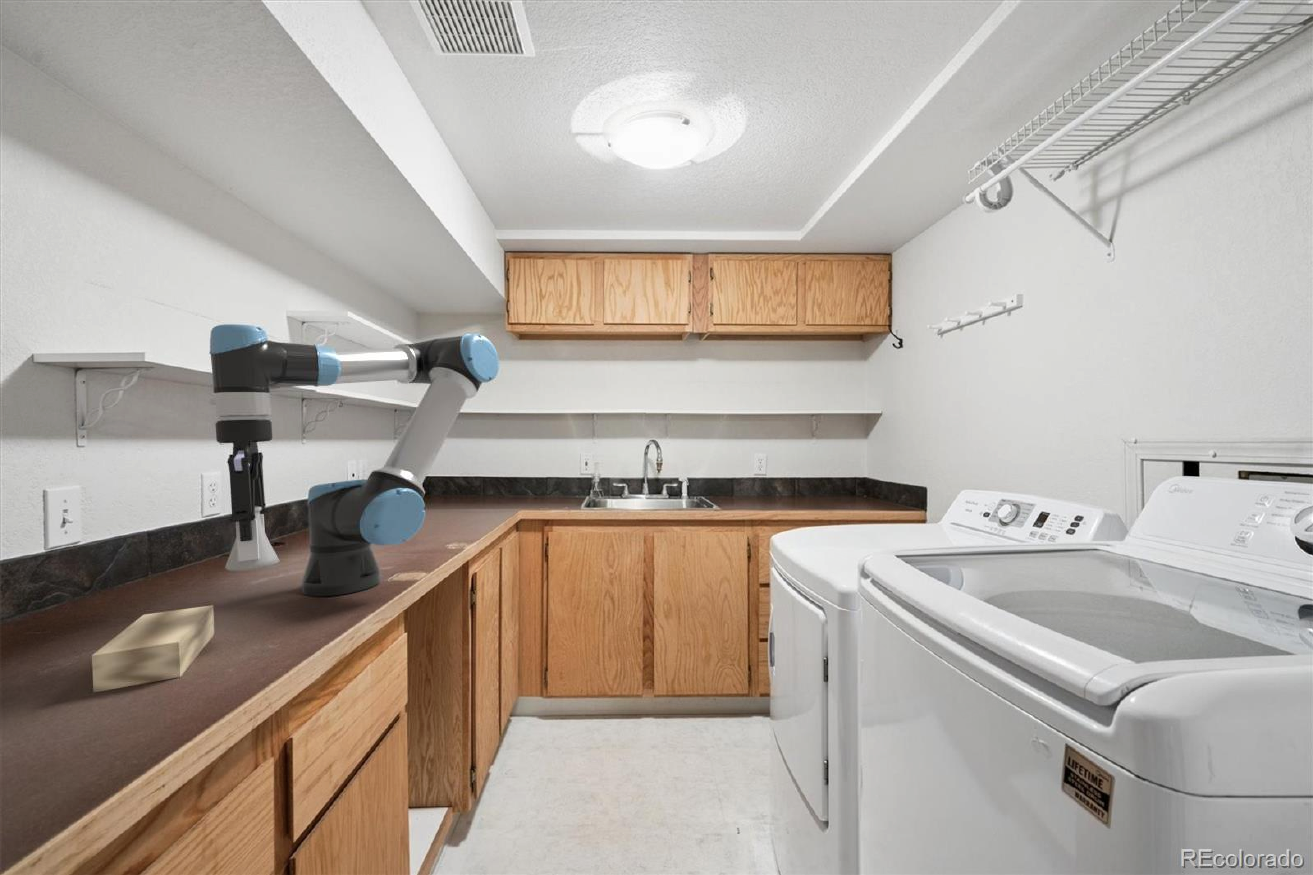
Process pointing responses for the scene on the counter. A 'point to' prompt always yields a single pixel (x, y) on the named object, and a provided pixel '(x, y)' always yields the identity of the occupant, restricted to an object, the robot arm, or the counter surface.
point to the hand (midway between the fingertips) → (252, 555)
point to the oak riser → (153, 648)
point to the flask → (265, 552)
